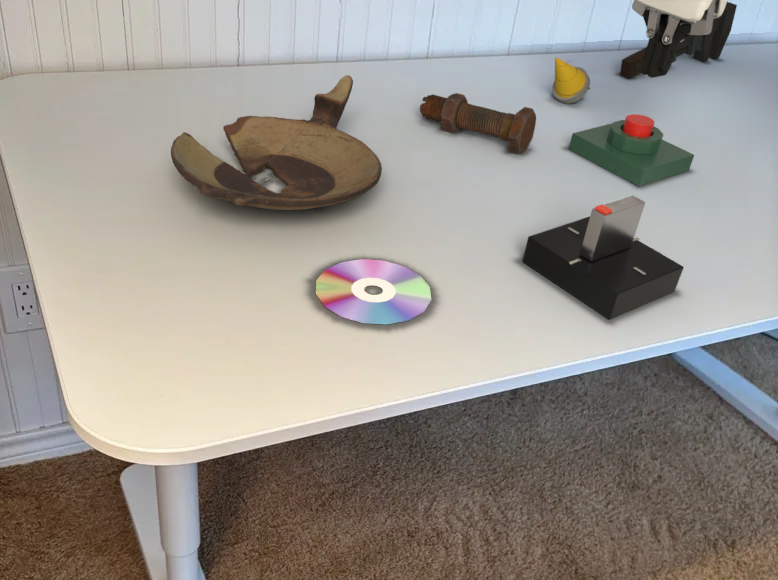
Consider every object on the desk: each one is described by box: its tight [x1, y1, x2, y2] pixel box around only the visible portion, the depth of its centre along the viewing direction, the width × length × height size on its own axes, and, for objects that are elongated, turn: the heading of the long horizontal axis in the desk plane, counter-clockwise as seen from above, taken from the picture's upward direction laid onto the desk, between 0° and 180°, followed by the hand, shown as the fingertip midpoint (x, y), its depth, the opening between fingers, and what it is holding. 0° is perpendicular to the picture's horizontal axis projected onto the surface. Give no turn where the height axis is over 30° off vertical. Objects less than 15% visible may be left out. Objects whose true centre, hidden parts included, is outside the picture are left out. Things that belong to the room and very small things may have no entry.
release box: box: [568, 119, 695, 187], centre depth 107 cm, size 12×10×4 cm
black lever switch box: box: [522, 215, 685, 321], centre depth 84 cm, size 12×10×3 cm
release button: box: [622, 113, 656, 137], centre depth 105 cm, size 4×4×2 cm
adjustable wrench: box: [619, 1, 738, 80], centre depth 137 cm, size 8×3×25 cm
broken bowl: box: [170, 74, 383, 211], centre depth 92 cm, size 22×30×8 cm
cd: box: [315, 258, 432, 325], centre depth 79 cm, size 11×11×1 cm
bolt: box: [419, 92, 537, 155], centre depth 108 cm, size 6×5×15 cm
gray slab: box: [580, 195, 646, 262], centre depth 81 cm, size 6×2×5 cm, turn 126°
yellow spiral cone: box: [551, 57, 591, 105], centre depth 119 cm, size 5×5×10 cm
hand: (653, 73), depth 101 cm, fingers closed
